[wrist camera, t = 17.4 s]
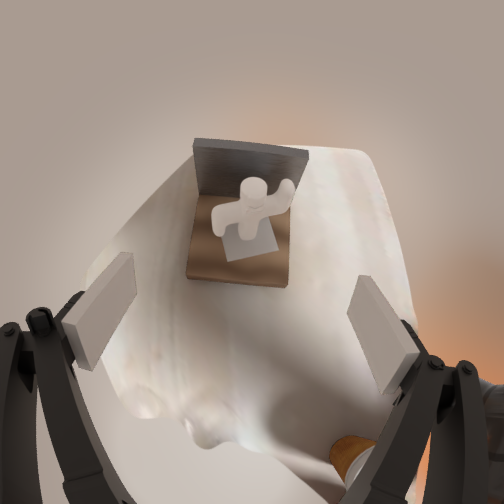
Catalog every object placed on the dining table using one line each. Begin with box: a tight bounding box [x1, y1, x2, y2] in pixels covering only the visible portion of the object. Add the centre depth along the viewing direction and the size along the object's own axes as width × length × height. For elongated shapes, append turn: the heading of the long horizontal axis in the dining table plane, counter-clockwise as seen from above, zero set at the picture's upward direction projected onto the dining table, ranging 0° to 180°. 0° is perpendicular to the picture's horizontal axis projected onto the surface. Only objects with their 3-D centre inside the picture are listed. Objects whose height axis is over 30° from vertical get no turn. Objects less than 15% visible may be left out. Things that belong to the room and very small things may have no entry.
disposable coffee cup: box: [329, 436, 377, 491], centre depth 28 cm, size 10×10×12 cm
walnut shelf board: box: [186, 195, 290, 288], centre depth 44 cm, size 15×15×2 cm
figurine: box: [211, 177, 295, 262], centre depth 35 cm, size 7×9×15 cm
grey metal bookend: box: [193, 138, 309, 198], centre depth 39 cm, size 2×15×12 cm, turn 86°
